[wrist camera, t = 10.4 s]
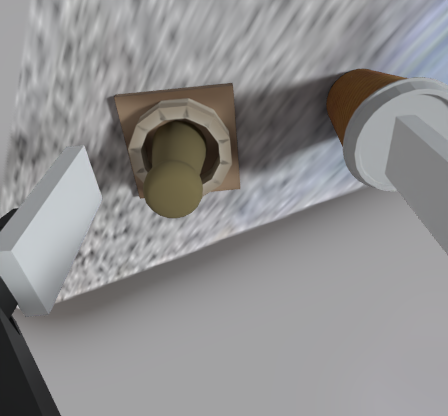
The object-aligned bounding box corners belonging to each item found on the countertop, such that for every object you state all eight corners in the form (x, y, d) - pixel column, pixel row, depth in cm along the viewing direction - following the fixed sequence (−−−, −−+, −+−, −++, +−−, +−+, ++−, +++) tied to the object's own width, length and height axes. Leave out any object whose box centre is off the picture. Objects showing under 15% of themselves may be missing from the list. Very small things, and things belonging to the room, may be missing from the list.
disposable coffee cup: (292, 109, 38) (323, 157, 28) (359, 30, 34) (423, 53, 24) (352, 156, 42) (398, 214, 32) (419, 89, 38) (497, 131, 28)
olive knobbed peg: (215, 161, 40) (218, 216, 31) (166, 178, 41) (155, 237, 32) (194, 111, 37) (190, 156, 28) (141, 132, 38) (121, 182, 29)
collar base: (116, 94, 36) (108, 105, 34) (232, 83, 36) (234, 92, 33) (141, 194, 43) (136, 210, 40) (239, 184, 43) (242, 199, 40)
